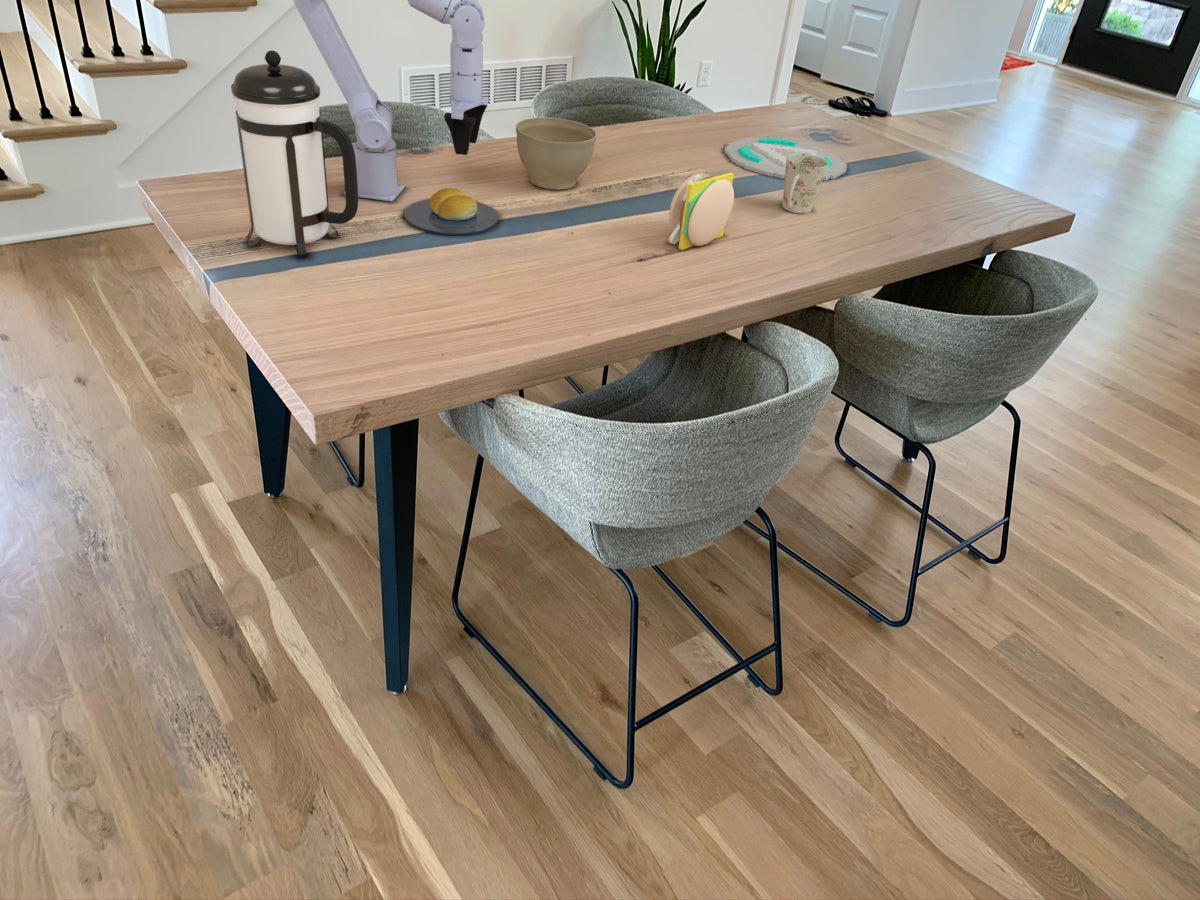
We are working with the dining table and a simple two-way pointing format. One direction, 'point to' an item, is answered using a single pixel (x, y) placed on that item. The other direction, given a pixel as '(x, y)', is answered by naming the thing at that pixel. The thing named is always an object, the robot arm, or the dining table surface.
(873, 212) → the dining table surface
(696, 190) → the hamburger
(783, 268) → the dining table surface
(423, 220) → the plate
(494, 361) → the dining table surface
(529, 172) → the planter bowl
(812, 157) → the mug
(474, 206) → the bread roll
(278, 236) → the coffee press
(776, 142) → the grey flat disc
